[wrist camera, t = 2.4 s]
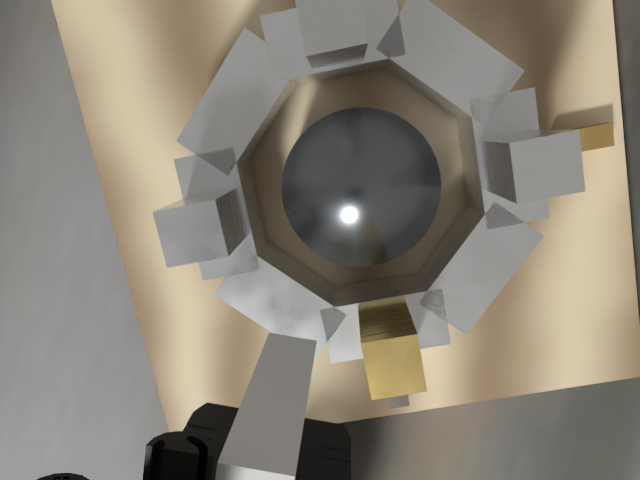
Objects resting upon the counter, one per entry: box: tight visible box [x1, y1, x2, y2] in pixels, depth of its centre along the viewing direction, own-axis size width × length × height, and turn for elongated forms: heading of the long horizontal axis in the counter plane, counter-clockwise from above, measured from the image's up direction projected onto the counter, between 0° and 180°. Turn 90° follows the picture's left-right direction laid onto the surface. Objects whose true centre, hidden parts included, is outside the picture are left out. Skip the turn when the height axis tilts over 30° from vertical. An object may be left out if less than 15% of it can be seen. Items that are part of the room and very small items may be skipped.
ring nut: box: [153, 0, 585, 400], centre depth 21 cm, size 14×14×7 cm
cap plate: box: [51, 0, 640, 432], centre depth 25 cm, size 24×24×2 cm
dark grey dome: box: [281, 107, 441, 266], centre depth 23 cm, size 6×6×4 cm
